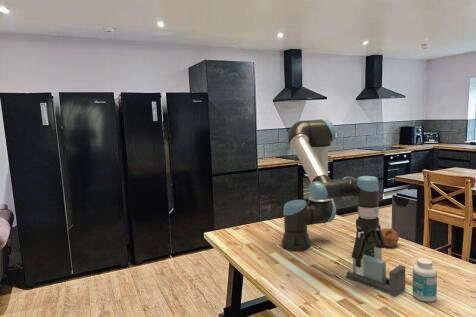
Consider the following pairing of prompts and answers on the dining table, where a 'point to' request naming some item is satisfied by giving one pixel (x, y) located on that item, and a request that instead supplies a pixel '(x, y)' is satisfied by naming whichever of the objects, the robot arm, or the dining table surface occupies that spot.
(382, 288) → the floor track
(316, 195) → the robot arm
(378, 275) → the gray rectangular block
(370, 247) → the coffee jar
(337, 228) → the dining table surface
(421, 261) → the pill bottle
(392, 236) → the onion
